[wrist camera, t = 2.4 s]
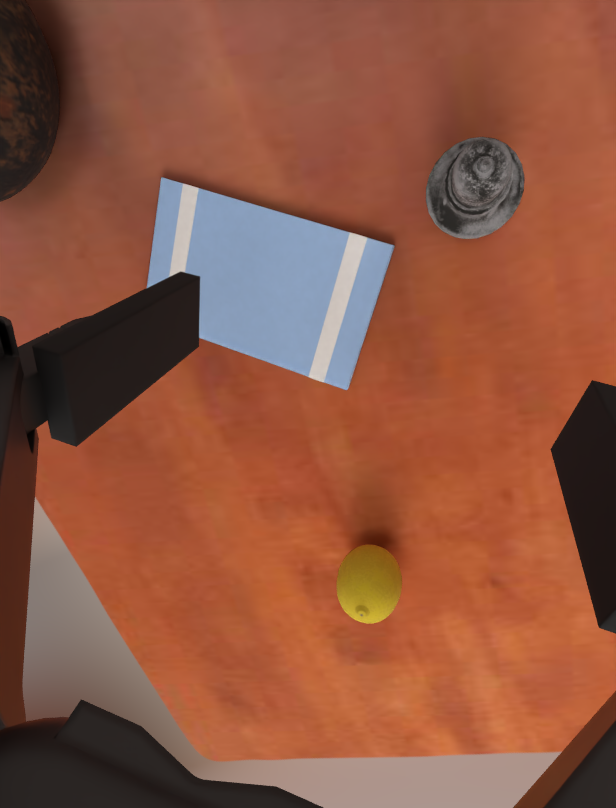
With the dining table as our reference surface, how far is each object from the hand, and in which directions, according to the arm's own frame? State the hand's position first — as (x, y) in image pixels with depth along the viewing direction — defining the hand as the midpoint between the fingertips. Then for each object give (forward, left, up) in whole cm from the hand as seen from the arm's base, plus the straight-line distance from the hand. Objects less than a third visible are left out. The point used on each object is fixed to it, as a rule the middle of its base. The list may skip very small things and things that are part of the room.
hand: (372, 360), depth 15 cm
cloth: (-7, -11, -21) cm, 25 cm away
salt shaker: (-5, +7, -22) cm, 23 cm away
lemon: (+19, -13, -22) cm, 32 cm away
